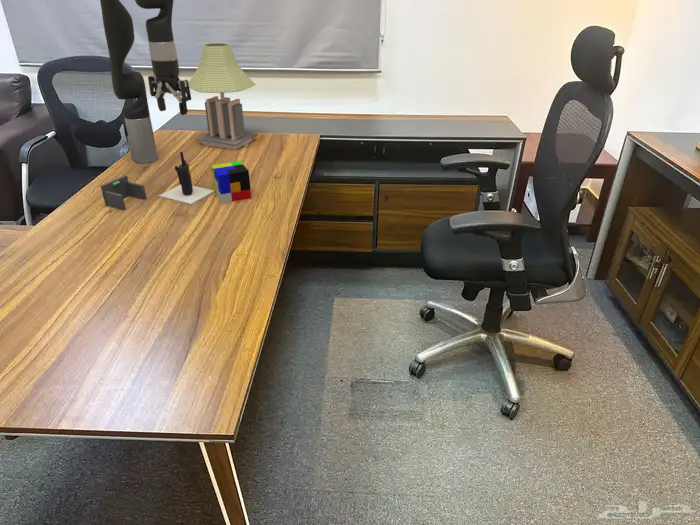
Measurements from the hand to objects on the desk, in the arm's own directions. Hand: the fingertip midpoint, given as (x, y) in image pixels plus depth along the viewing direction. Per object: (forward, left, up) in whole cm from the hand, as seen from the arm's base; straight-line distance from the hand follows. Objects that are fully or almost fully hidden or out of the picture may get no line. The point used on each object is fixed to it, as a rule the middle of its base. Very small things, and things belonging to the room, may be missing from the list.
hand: (173, 112), depth 154 cm
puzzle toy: (+14, +7, -28) cm, 32 cm away
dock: (-13, -14, -28) cm, 34 cm away
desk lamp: (-23, +52, -28) cm, 64 cm away
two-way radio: (0, 0, -28) cm, 28 cm away
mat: (0, 0, -28) cm, 28 cm away
